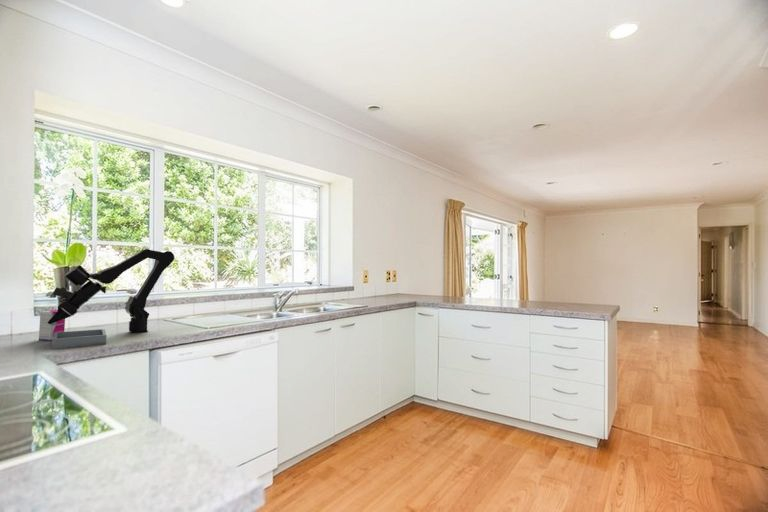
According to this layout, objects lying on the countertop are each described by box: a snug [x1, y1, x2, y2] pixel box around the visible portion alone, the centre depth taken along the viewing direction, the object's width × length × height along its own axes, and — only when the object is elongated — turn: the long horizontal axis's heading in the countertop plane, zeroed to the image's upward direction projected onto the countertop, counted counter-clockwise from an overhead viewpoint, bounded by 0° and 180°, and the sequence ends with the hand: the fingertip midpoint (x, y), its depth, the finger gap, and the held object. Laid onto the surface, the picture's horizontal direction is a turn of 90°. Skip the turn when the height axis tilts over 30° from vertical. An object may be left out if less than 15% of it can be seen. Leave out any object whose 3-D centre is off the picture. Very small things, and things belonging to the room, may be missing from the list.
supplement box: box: [38, 309, 66, 342], centre depth 159 cm, size 6×6×12 cm
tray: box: [51, 328, 108, 350], centre depth 154 cm, size 16×16×4 cm
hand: (49, 321), depth 158 cm, fingers open, 9 cm apart
